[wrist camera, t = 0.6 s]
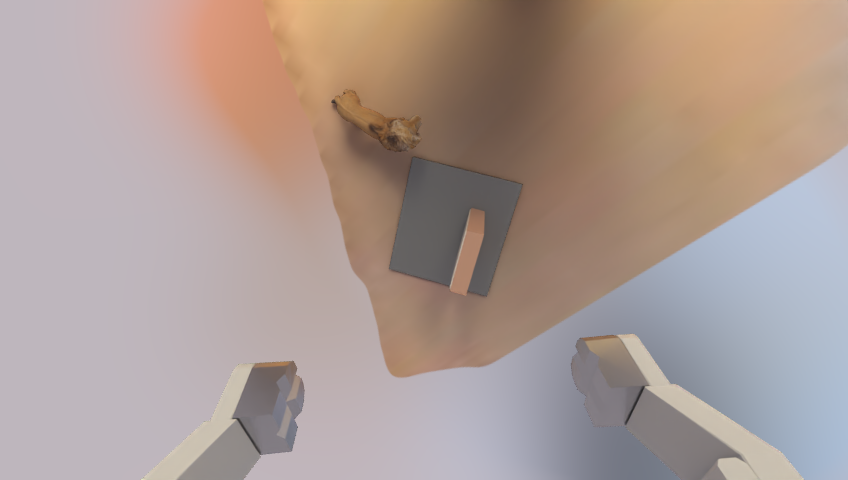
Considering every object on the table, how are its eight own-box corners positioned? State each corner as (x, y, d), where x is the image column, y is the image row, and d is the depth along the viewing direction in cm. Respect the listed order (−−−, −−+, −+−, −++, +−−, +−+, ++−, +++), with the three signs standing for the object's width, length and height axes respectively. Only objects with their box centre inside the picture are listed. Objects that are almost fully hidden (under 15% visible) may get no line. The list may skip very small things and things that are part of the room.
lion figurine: (434, 119, 50) (424, 118, 42) (422, 156, 52) (409, 162, 44) (337, 83, 51) (307, 75, 43) (328, 121, 53) (298, 120, 44)
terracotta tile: (470, 207, 53) (465, 230, 41) (484, 211, 52) (484, 234, 41) (456, 256, 55) (448, 290, 44) (470, 260, 55) (465, 295, 44)
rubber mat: (413, 156, 52) (412, 157, 52) (522, 184, 51) (522, 184, 50) (389, 267, 58) (389, 268, 58) (486, 294, 57) (486, 296, 56)
